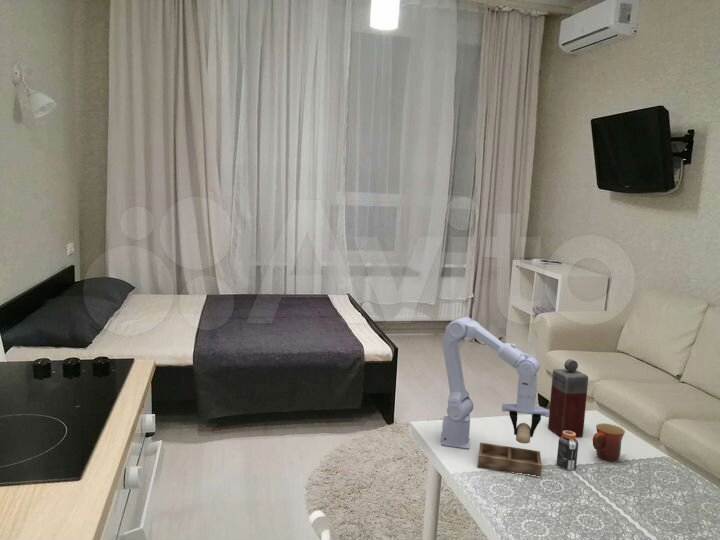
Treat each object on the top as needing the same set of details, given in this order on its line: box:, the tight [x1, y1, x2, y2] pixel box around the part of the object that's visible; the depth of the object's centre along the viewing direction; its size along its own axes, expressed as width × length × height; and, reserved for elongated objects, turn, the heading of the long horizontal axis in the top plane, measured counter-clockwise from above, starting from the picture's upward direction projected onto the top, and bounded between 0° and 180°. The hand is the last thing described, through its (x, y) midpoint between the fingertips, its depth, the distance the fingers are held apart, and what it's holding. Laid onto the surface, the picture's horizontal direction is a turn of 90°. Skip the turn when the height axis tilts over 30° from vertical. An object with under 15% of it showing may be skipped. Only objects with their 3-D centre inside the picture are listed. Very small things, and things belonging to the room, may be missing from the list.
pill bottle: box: [556, 430, 579, 471], centre depth 170 cm, size 6×6×11 cm
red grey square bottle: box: [547, 358, 589, 439], centre depth 196 cm, size 9×11×28 cm
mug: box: [592, 422, 626, 463], centre depth 176 cm, size 12×9×10 cm
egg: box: [515, 422, 531, 444], centre depth 171 cm, size 4×4×6 cm
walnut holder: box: [477, 442, 543, 477], centre depth 169 cm, size 19×10×4 cm, turn 75°
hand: (523, 434), depth 171 cm, fingers closed on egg, 4 cm apart
